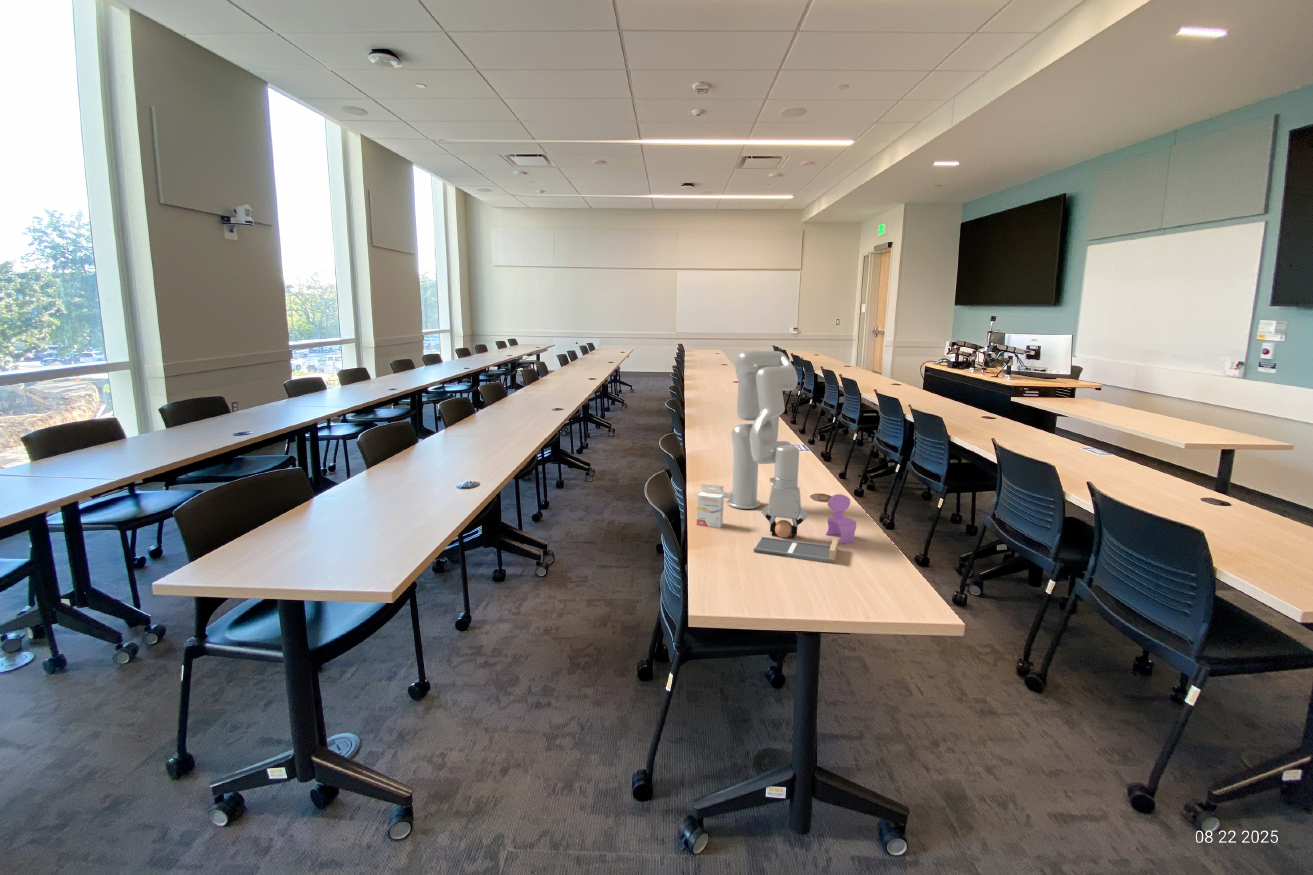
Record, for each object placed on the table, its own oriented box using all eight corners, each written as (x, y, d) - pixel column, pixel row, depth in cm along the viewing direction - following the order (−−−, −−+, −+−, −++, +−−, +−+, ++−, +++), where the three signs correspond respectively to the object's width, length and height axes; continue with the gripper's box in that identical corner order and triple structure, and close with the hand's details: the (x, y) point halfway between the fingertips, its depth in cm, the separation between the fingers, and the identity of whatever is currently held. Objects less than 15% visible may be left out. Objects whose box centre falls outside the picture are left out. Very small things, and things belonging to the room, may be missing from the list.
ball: (772, 539, 198) (773, 521, 197) (775, 533, 203) (776, 516, 202) (790, 541, 196) (791, 523, 195) (793, 536, 201) (794, 518, 200)
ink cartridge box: (696, 527, 210) (697, 486, 207) (699, 523, 214) (700, 483, 212) (720, 529, 207) (721, 488, 204) (723, 525, 211) (724, 485, 209)
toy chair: (836, 545, 192) (838, 500, 190) (821, 537, 201) (824, 493, 198) (858, 543, 195) (861, 499, 192) (843, 535, 203) (846, 492, 200)
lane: (753, 552, 186) (754, 539, 185) (761, 540, 197) (762, 528, 196) (833, 563, 177) (834, 550, 176) (837, 550, 188) (838, 538, 187)
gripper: (757, 482, 196) (755, 535, 199) (811, 488, 190) (808, 542, 193) (762, 477, 203) (760, 528, 206) (814, 483, 197) (811, 535, 200)
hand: (783, 534), depth 199 cm, fingers closed on ball, 5 cm apart
